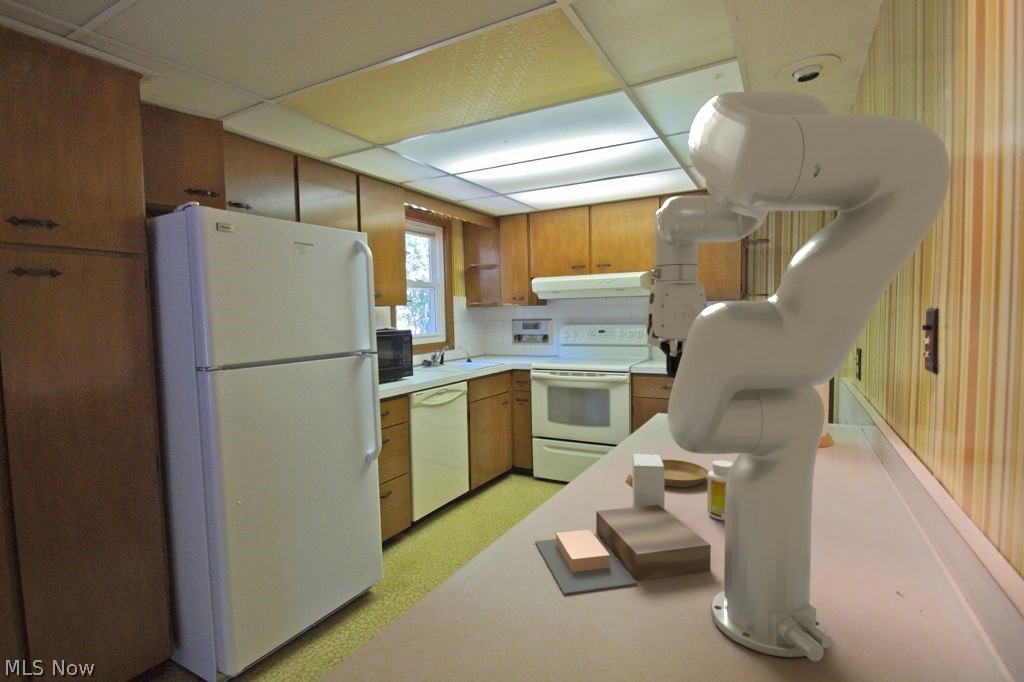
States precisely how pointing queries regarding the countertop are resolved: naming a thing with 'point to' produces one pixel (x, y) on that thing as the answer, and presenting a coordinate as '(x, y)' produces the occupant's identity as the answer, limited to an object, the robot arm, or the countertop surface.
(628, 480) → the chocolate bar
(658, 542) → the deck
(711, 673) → the countertop surface
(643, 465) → the small box
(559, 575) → the mat
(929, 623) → the countertop surface
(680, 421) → the robot arm
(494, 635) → the countertop surface
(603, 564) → the peach rectangular slab
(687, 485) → the plant saucer
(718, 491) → the supplement bottle
